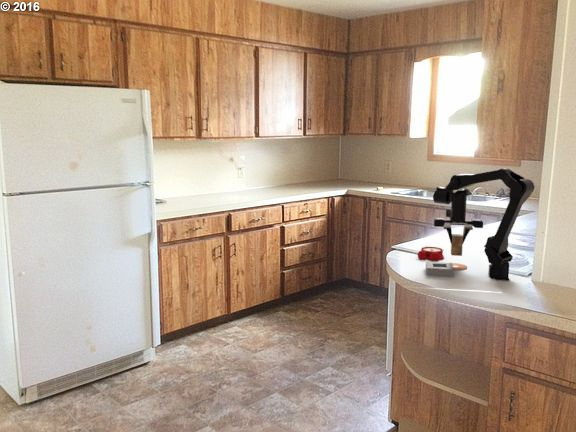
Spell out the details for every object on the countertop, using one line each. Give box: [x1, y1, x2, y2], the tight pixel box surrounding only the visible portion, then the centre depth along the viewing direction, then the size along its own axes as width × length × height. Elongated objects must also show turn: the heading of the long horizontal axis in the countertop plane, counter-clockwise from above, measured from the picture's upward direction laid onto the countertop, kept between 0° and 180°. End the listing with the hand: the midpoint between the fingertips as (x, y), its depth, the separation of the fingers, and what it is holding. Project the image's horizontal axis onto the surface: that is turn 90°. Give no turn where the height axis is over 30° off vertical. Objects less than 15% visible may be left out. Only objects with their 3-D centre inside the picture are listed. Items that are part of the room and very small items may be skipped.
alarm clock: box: [417, 246, 445, 262], centre depth 232 cm, size 10×6×15 cm
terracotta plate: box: [451, 262, 468, 271], centre depth 216 cm, size 9×9×1 cm
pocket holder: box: [425, 261, 455, 278], centre depth 208 cm, size 10×10×4 cm
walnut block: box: [450, 233, 464, 257], centre depth 214 cm, size 4×4×8 cm
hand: (456, 243), depth 214 cm, fingers closed on walnut block, 4 cm apart
